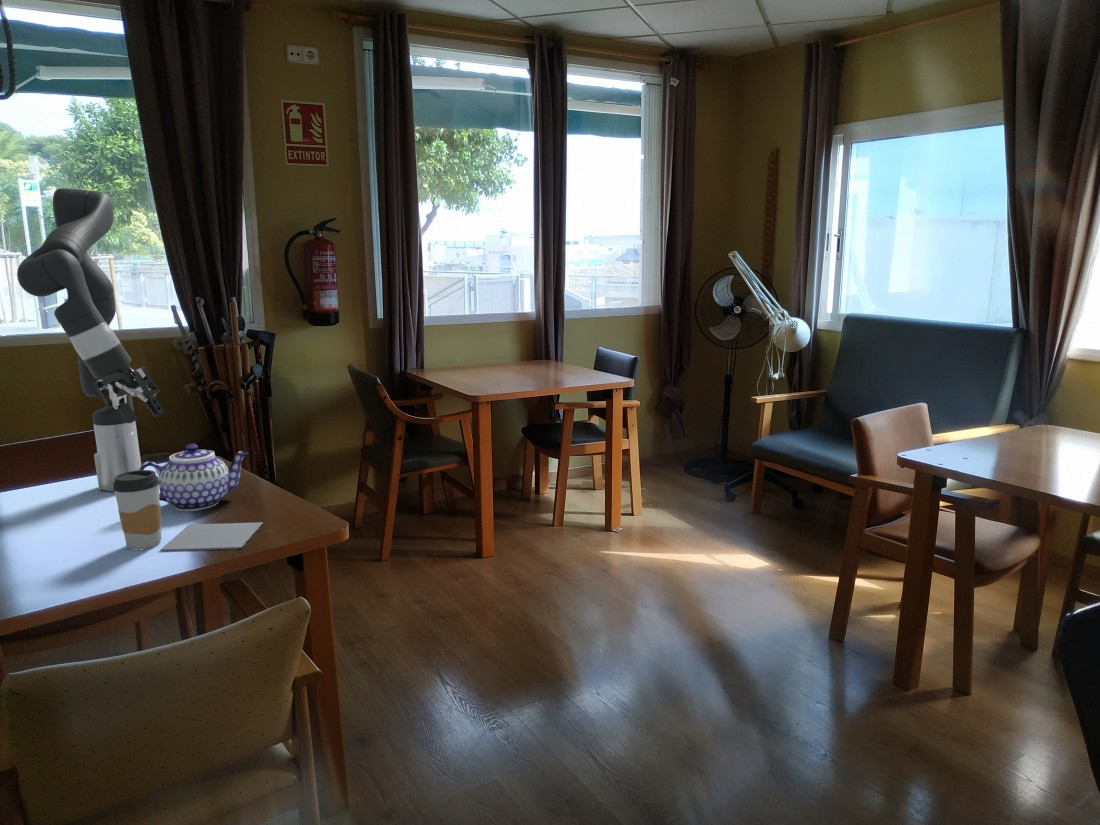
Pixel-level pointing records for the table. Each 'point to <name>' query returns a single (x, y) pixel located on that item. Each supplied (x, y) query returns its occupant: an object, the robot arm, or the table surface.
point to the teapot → (196, 478)
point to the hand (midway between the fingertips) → (146, 418)
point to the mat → (212, 536)
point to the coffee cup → (139, 508)
